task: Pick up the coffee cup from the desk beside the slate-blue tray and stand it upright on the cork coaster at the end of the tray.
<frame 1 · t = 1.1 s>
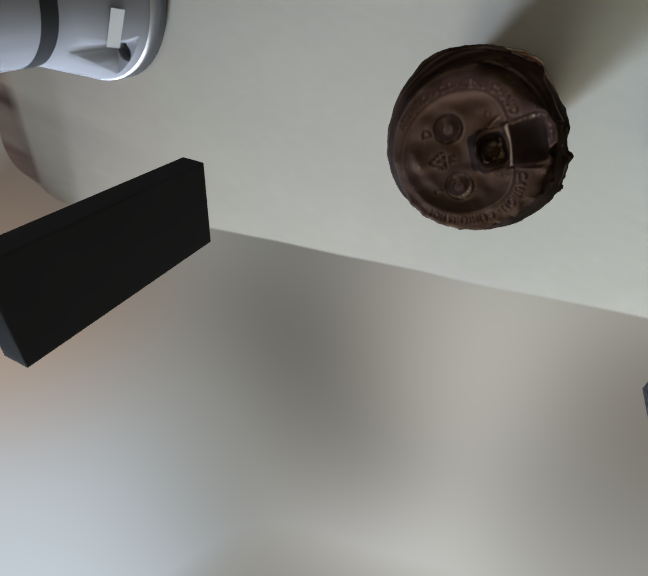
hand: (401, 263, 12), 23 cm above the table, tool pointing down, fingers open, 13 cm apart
coffee cup: (501, 102, 29), on the table
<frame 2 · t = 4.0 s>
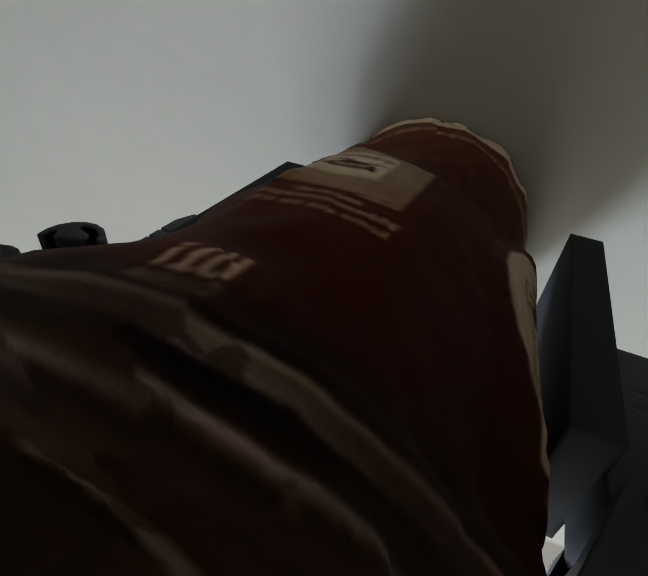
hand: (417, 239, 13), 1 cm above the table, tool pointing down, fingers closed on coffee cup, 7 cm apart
coffee cup: (428, 221, 14), on the table, touching gripper
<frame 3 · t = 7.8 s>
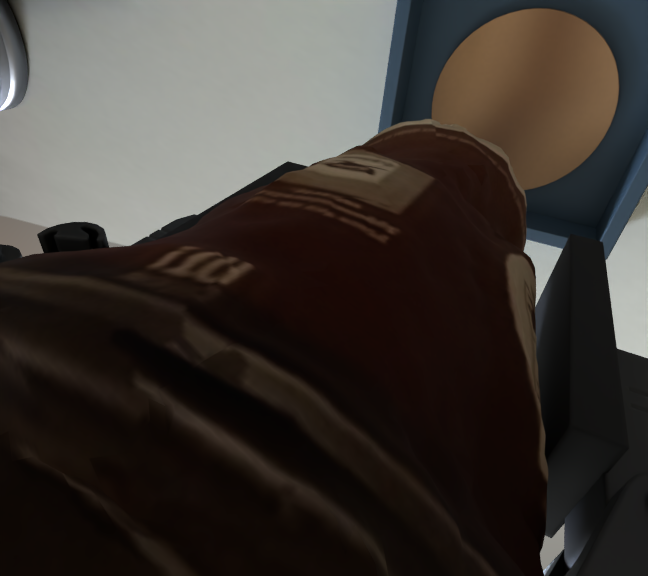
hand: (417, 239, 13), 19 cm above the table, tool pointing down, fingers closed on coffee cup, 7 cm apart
coffee cup: (428, 222, 14), point 18 cm above the table, touching gripper
tray: (543, 29, 24), on the table
coaster: (517, 108, 26), resting on tray
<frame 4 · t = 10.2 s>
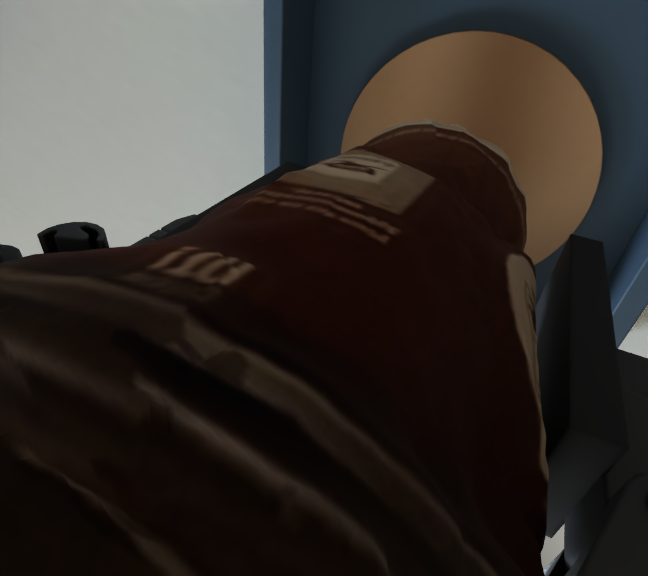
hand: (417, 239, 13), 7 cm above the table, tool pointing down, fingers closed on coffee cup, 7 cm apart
coffee cup: (428, 222, 14), point 6 cm above the table, touching gripper
tray: (489, 60, 16), on the table
coaster: (456, 173, 17), resting on tray
when the fingers open (4 cm above the table, at t = 12.3 s): coffee cup stays where it is, resting on coaster.
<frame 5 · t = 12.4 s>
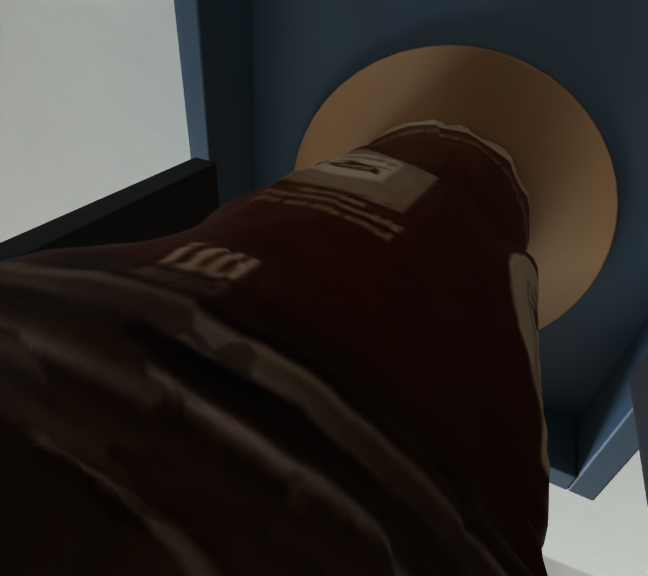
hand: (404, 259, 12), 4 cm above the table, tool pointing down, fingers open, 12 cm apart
coffee cup: (431, 222, 14), point 1 cm above the table, touching coaster
tray: (471, 81, 12), on the table
coaster: (431, 220, 14), resting on tray
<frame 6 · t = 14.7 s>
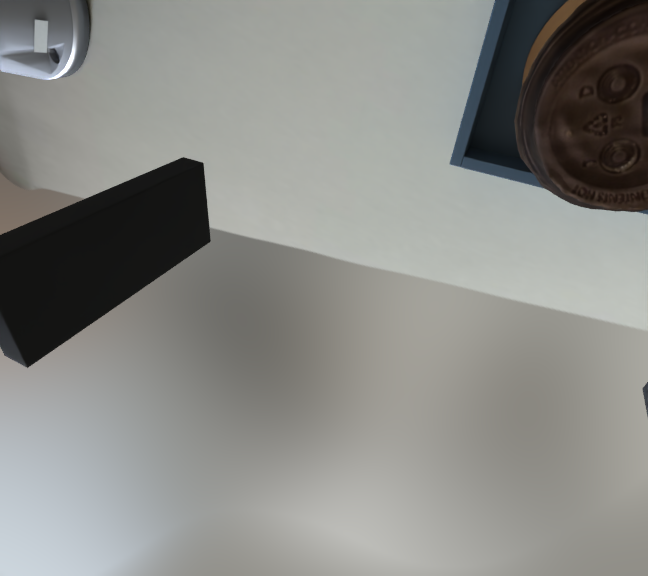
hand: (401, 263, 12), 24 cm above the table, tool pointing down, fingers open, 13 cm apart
coffee cup: (615, 73, 25), point 1 cm above the table, touching coaster
coaster: (615, 72, 25), resting on tray
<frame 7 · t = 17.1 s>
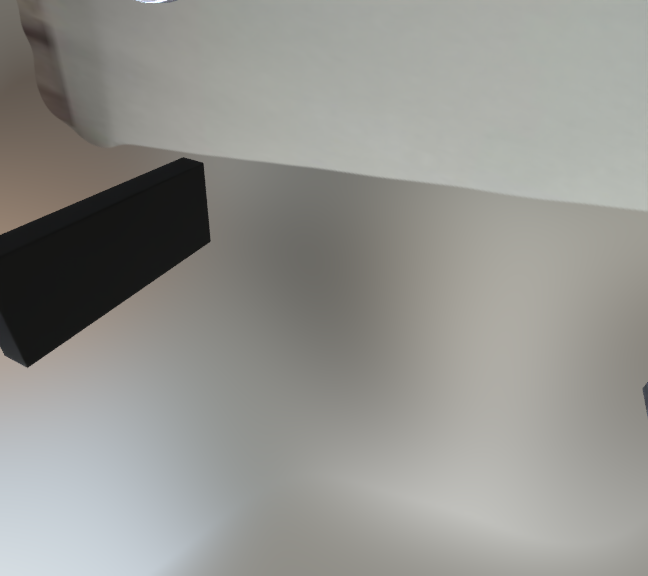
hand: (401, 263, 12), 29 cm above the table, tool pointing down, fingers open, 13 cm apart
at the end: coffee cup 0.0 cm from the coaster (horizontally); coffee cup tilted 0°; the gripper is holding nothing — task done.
